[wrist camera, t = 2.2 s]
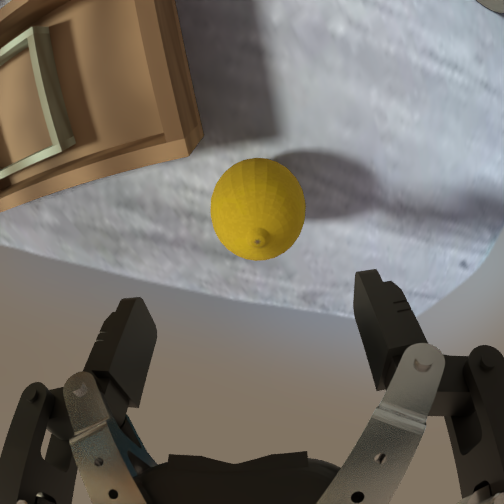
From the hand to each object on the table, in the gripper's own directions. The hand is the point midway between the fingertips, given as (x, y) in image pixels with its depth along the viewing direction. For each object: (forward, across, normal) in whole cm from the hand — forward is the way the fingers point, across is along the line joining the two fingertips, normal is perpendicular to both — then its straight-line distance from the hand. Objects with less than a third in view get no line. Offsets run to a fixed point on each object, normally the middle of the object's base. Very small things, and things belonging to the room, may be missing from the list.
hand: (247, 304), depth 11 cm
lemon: (+13, 0, 0) cm, 13 cm away
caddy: (+12, +14, -11) cm, 21 cm away
